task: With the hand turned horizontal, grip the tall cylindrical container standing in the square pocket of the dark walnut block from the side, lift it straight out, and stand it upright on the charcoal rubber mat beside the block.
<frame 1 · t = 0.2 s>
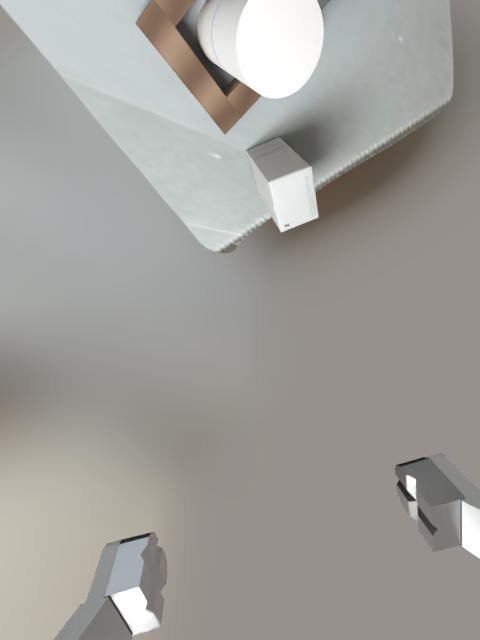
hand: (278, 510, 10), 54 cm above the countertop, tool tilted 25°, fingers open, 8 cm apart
skincare box: (265, 165, 55), on the countertop
cylindrical container: (223, 31, 42), resting in pocket block
pocket block: (223, 31, 42), on the countertop
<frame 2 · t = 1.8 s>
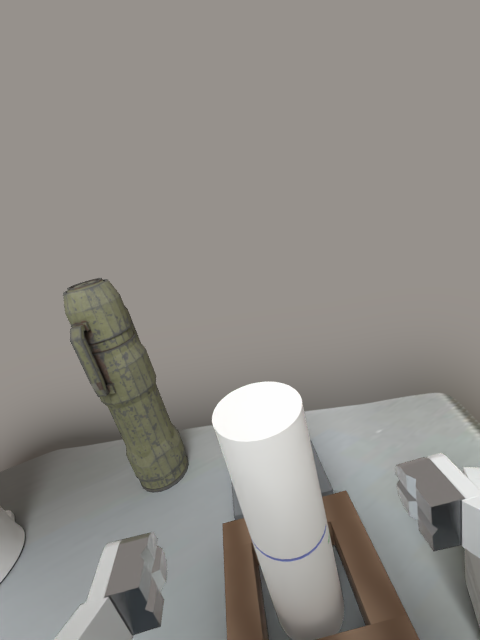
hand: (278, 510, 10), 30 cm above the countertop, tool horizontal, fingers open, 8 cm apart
cylindrical container: (309, 603, 33), resting in pocket block
rubber mat: (276, 473, 49), on the countertop
thermos: (165, 471, 55), on the countertop
pocket block: (308, 601, 33), on the countertop
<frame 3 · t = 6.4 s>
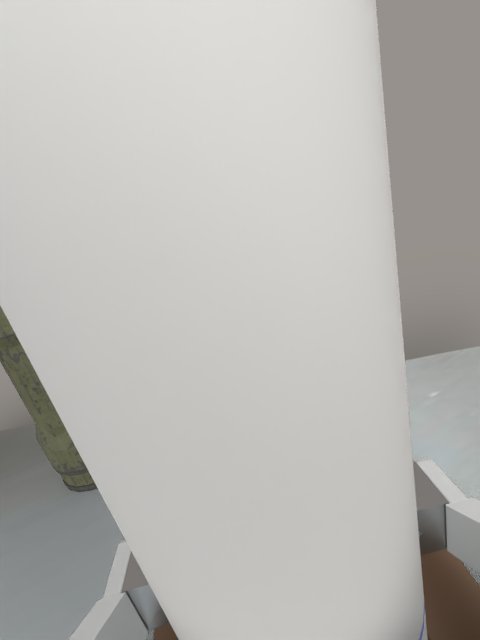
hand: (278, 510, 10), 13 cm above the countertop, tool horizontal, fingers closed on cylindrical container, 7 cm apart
thermos: (105, 460, 36), on the countertop
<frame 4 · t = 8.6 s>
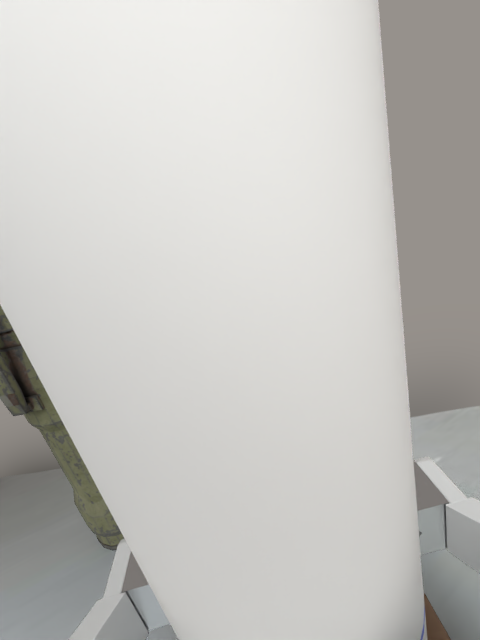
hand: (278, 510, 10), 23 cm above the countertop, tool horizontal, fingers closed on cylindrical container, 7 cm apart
thermos: (133, 514, 39), on the countertop
when the fingers open (20 cm above the countertop, at t = 10.7 s): cylindrical container drops 5 cm, resting on rubber mat.
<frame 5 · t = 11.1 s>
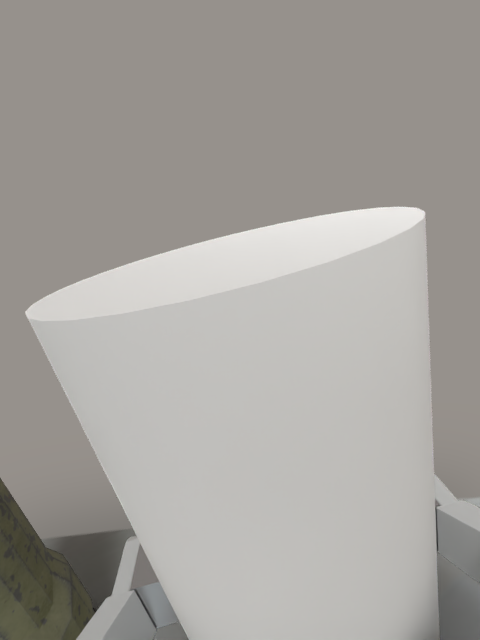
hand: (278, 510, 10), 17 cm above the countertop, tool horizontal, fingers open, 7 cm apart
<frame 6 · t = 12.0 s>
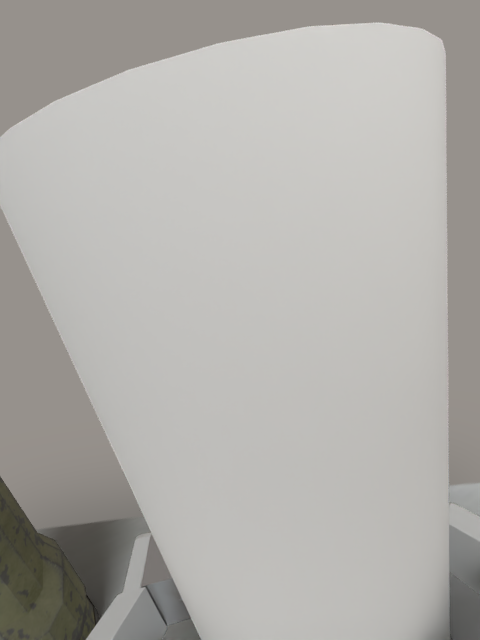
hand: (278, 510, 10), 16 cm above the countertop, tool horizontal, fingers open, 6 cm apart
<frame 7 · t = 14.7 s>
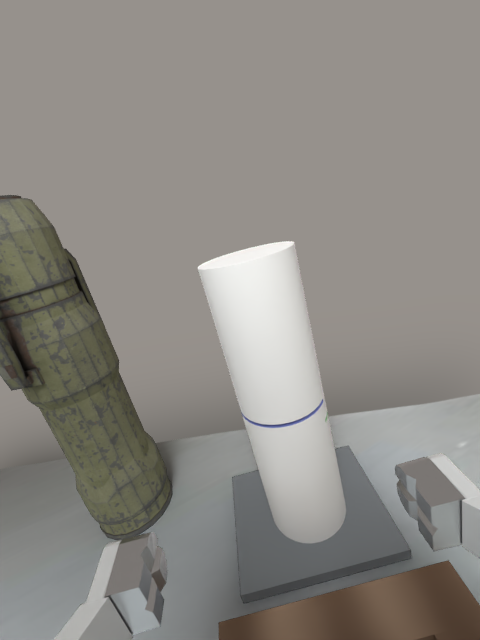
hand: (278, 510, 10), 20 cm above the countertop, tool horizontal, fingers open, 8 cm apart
cylindrical container: (308, 507, 30), point 1 cm above the countertop, touching rubber mat
rubber mat: (306, 513, 31), on the countertop
thermos: (138, 504, 37), on the countertop
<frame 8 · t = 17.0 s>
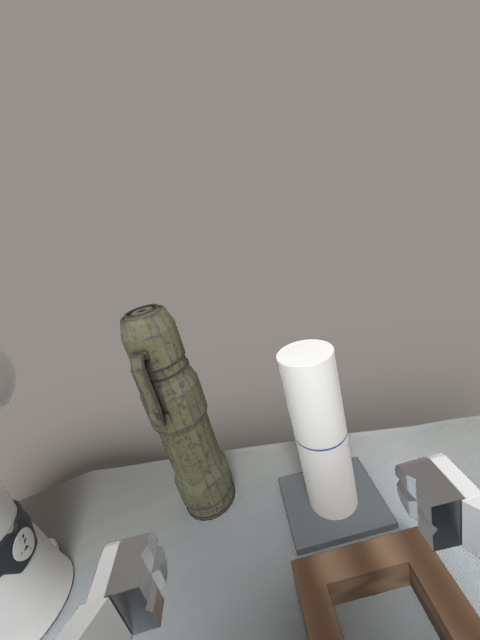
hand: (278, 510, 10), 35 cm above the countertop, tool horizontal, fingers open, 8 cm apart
cylindrical container: (333, 498, 47), point 1 cm above the countertop, touching rubber mat
rubber mat: (331, 502, 47), on the countertop
thermos: (211, 497, 54), on the countertop
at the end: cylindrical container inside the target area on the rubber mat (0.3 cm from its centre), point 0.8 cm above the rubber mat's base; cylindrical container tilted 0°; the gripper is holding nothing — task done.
